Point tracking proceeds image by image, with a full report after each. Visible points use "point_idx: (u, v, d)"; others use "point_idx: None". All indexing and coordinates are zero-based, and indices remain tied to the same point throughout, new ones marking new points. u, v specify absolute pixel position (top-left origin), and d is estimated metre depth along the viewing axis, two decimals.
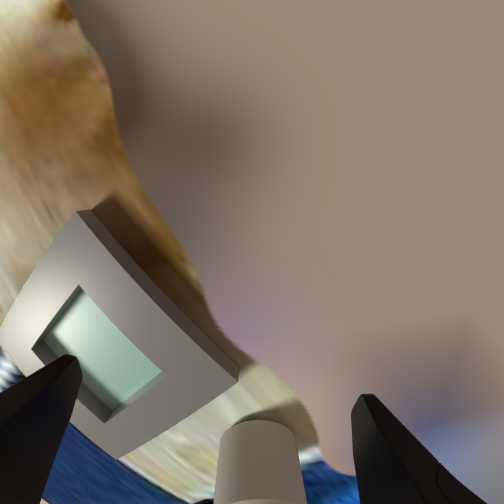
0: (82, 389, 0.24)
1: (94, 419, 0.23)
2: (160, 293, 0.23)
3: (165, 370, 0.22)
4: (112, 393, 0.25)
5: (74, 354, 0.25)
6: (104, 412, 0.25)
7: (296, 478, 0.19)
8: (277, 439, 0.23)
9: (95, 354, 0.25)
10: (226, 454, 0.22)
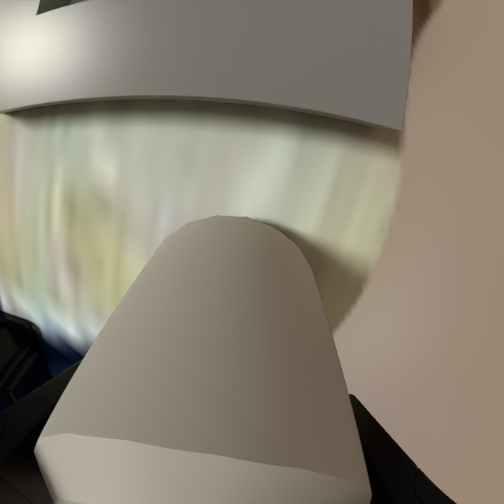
0: None
1: (32, 0, 0.06)
2: None
3: None
4: None
5: None
6: (55, 9, 0.08)
7: None
8: None
9: None
10: (215, 253, 0.09)
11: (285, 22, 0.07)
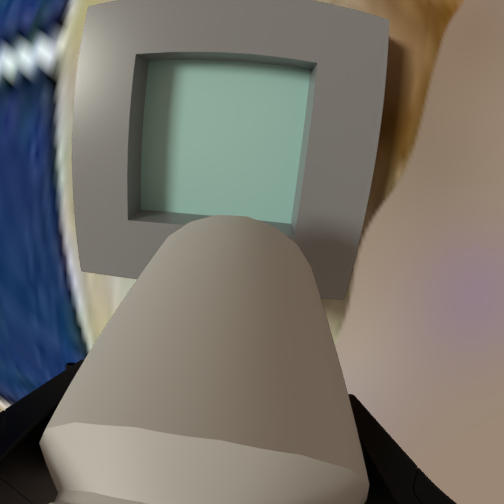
0: (137, 156, 0.17)
1: (119, 204, 0.17)
2: None
3: (300, 229, 0.18)
4: (170, 192, 0.19)
5: (176, 110, 0.17)
6: (135, 205, 0.18)
7: None
8: None
9: (208, 135, 0.18)
10: (217, 250, 0.09)
11: None
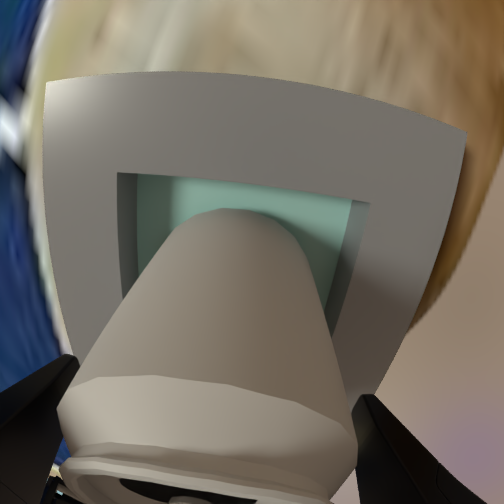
0: None
1: None
2: None
3: None
4: None
5: None
6: None
7: None
8: None
9: None
10: (222, 238, 0.10)
11: None
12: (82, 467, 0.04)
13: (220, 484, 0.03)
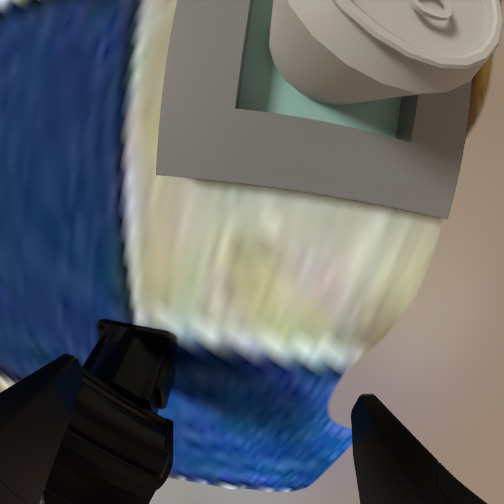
0: (244, 50, 0.15)
1: (226, 90, 0.14)
2: None
3: (416, 137, 0.15)
4: (276, 93, 0.16)
5: None
6: (237, 99, 0.16)
7: None
8: None
9: None
10: None
11: (403, 161, 0.15)
12: None
13: None
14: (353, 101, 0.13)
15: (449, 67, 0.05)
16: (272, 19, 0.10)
